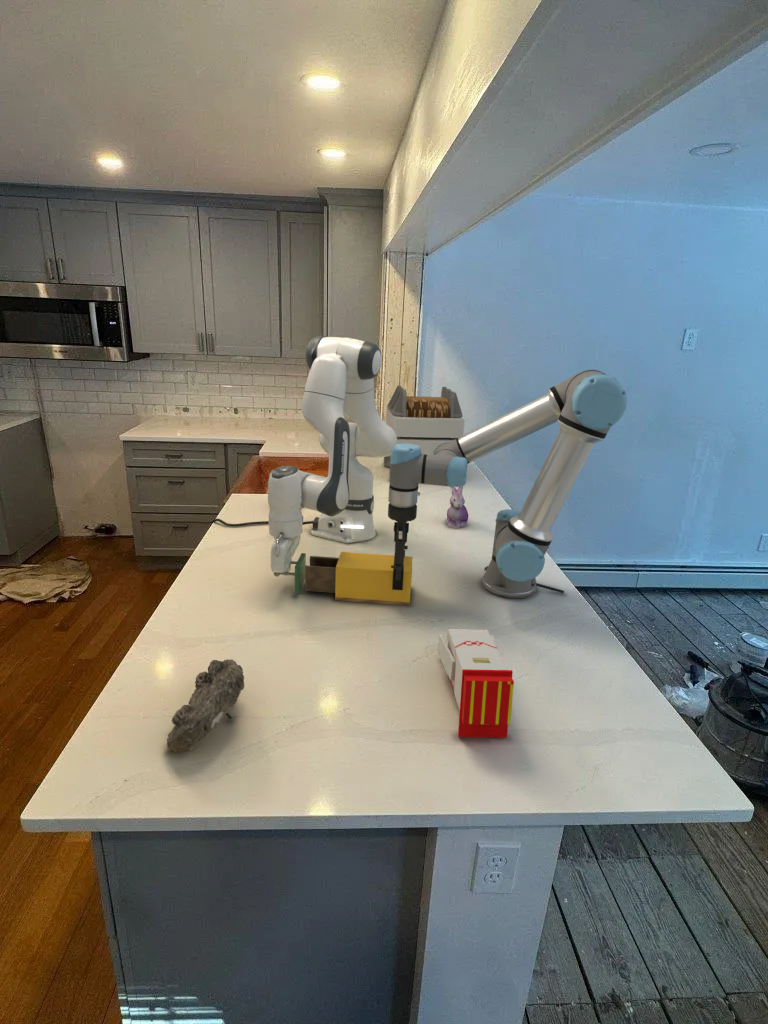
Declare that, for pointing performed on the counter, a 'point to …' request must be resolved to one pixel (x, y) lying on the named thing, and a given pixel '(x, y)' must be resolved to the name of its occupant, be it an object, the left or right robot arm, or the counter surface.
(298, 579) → the drawer
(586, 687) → the counter surface
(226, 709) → the fossil
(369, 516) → the left robot arm
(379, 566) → the cabinet
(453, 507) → the figurine
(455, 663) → the toy
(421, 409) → the transformer
